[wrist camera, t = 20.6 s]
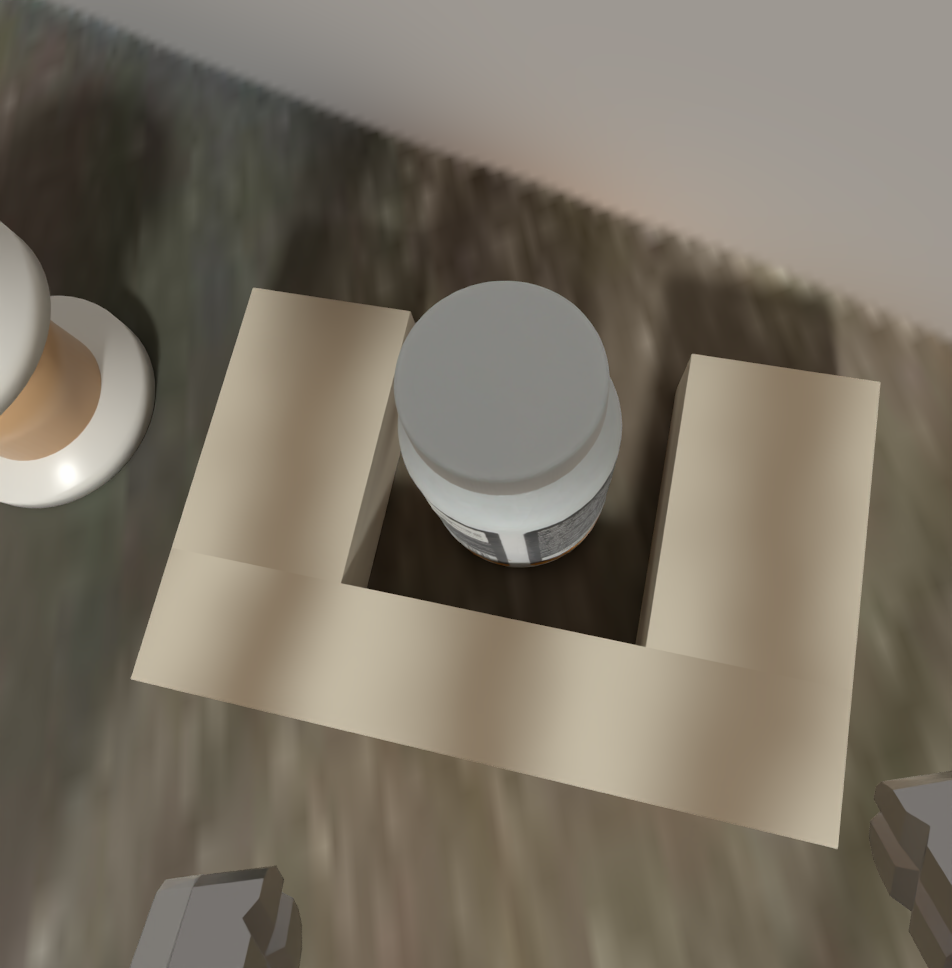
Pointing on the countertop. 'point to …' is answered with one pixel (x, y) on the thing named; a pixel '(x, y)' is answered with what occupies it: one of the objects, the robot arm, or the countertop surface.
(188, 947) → the robot arm
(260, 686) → the notched board
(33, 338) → the spool
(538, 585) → the countertop surface
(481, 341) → the pill bottle
